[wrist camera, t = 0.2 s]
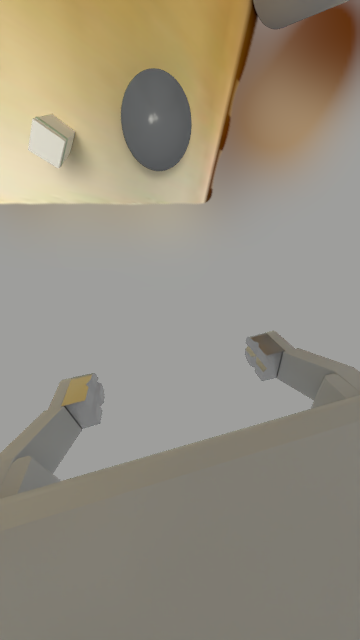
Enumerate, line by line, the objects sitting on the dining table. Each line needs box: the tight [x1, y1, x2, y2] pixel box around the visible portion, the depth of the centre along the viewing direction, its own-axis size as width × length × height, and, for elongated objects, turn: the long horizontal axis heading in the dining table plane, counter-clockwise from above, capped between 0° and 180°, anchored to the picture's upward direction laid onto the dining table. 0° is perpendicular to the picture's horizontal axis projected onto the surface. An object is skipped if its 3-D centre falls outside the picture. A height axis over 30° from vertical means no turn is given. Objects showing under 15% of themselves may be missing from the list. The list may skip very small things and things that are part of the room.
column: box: [28, 114, 75, 169], centre depth 33 cm, size 4×4×14 cm
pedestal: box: [121, 68, 191, 171], centre depth 37 cm, size 13×13×7 cm
